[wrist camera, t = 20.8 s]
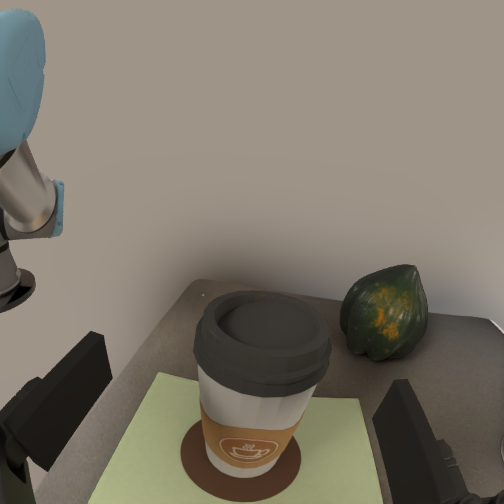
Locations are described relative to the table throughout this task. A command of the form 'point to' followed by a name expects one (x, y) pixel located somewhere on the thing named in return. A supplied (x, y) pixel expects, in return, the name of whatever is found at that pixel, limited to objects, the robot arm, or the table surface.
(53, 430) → the robot arm
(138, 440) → the place mat
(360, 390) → the table surface
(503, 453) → the bowl
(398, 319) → the squash
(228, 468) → the coffee cup
